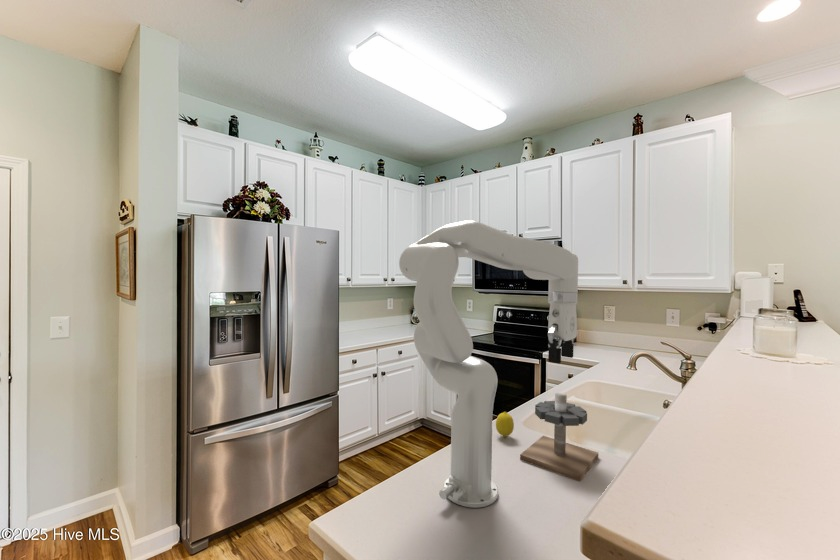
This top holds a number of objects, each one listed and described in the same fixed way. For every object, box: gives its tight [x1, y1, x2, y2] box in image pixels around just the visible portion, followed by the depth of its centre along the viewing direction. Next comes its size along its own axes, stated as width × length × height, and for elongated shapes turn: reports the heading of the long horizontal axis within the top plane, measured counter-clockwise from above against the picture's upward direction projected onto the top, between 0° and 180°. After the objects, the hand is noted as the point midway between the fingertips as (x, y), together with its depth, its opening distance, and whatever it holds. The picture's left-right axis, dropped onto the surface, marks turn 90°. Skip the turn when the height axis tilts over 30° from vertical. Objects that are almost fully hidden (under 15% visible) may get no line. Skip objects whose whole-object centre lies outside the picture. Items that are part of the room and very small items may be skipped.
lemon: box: [495, 411, 515, 438], centre depth 116 cm, size 6×6×8 cm
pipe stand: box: [519, 392, 599, 482], centre depth 103 cm, size 16×16×18 cm
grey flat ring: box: [534, 400, 588, 427], centre depth 102 cm, size 13×13×2 cm
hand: (561, 359), depth 102 cm, fingers open, 9 cm apart
